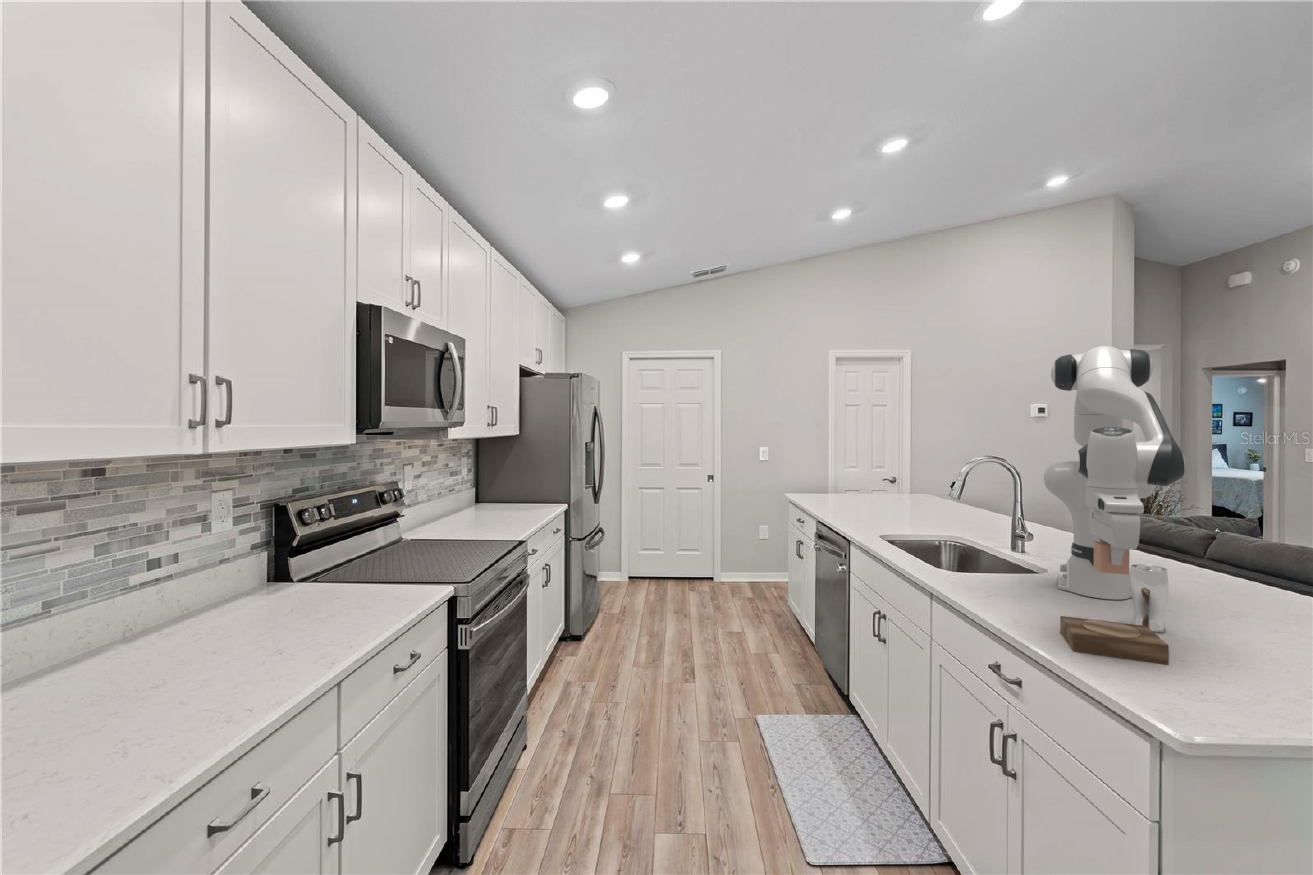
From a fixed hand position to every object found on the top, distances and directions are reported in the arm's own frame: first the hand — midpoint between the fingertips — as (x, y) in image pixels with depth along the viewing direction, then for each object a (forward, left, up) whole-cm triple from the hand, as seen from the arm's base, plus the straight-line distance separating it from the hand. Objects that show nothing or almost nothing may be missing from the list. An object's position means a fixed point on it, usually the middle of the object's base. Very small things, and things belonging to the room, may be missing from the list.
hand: (1111, 561), depth 120 cm
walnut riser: (0, 0, -20) cm, 20 cm away
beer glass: (-18, +12, -20) cm, 29 cm away
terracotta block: (0, 0, -2) cm, 2 cm away
